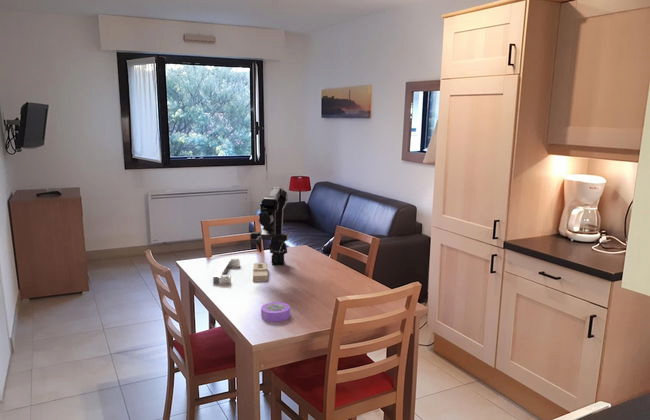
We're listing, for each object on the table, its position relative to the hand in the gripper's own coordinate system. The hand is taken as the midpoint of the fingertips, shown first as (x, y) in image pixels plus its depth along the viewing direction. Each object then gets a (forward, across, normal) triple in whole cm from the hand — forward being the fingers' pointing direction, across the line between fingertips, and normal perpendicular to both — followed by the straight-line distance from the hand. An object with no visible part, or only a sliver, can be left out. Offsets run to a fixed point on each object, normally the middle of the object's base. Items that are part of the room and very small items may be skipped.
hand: (269, 252), depth 242 cm
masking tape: (+14, +14, -47) cm, 51 cm away
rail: (+12, -22, -1) cm, 25 cm away
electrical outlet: (+13, -5, +1) cm, 14 cm away
